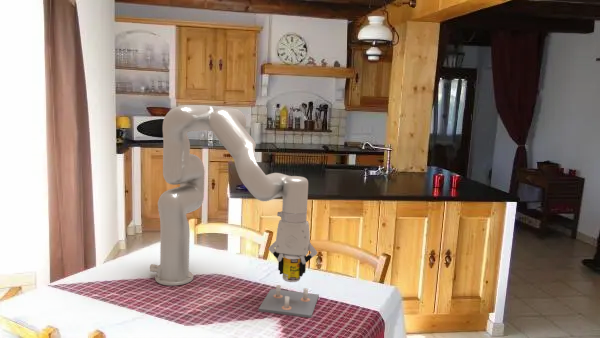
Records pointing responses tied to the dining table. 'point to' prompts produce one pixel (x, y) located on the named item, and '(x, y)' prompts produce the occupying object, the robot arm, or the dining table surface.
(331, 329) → the dining table surface
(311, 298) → the peg board
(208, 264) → the dining table surface
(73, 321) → the dining table surface
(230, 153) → the robot arm
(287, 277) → the supplement bottle
